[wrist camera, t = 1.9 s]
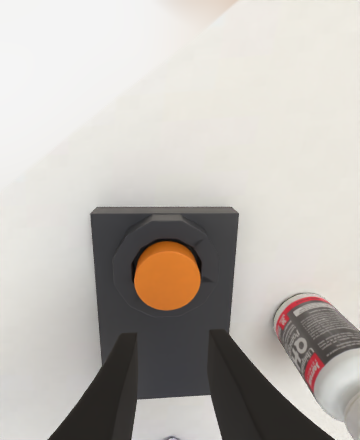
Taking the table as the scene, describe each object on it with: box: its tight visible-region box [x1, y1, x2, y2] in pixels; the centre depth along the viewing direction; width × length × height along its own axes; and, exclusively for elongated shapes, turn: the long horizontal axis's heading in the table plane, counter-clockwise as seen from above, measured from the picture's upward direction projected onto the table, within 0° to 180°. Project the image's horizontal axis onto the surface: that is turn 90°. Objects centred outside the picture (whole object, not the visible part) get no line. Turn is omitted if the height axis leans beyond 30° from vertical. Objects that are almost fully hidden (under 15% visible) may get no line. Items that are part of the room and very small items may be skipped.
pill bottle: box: [274, 293, 360, 440], centre depth 19 cm, size 5×5×10 cm
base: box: [90, 207, 239, 399], centre depth 20 cm, size 16×10×4 cm, turn 178°
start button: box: [134, 241, 201, 310], centre depth 17 cm, size 4×4×2 cm
